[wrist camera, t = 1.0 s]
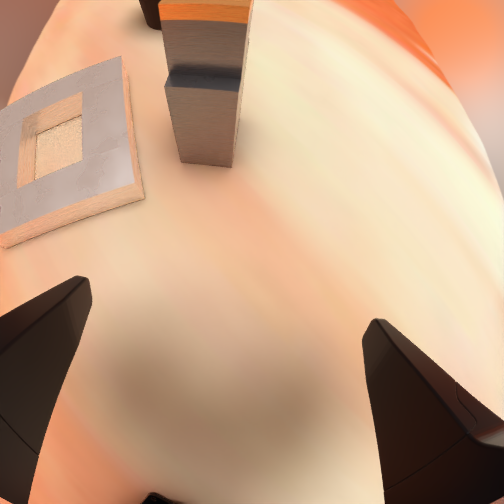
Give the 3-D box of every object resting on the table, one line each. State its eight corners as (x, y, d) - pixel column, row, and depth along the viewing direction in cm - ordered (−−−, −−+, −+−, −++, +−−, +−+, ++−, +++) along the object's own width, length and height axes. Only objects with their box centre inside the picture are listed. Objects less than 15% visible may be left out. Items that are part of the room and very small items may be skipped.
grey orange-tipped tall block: (231, 167, 23) (246, 18, 9) (181, 162, 22) (150, 15, 9) (239, 117, 24) (258, -25, 10) (193, 113, 23) (182, -29, 10)
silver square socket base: (144, 198, 22) (134, 182, 19) (6, 248, 19) (-14, 240, 17) (127, 76, 24) (121, 55, 21) (12, 125, 22) (-1, 110, 19)
